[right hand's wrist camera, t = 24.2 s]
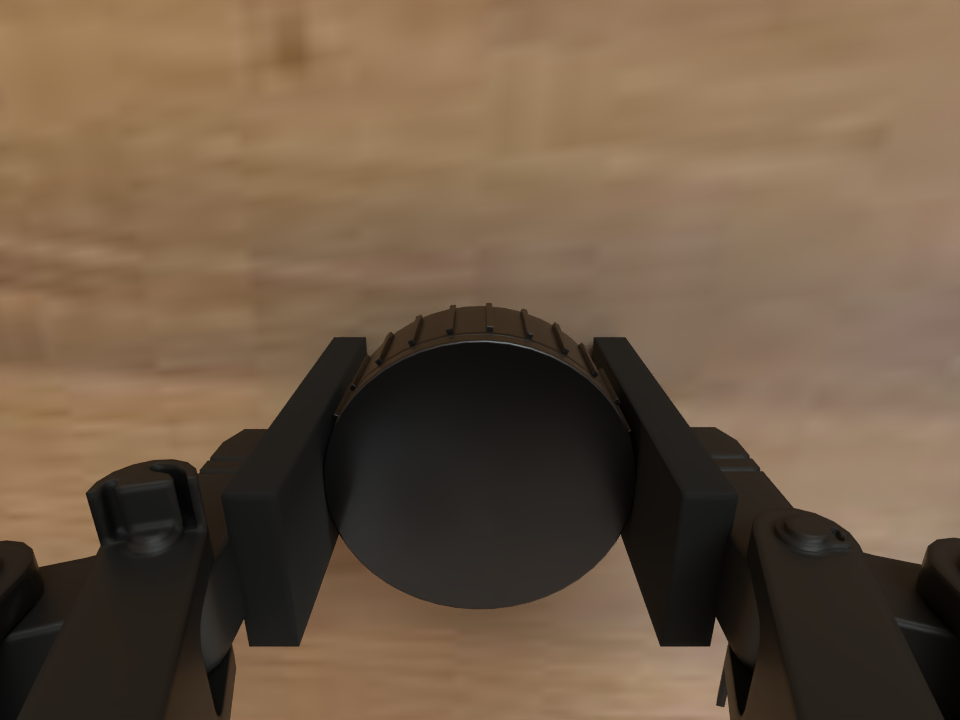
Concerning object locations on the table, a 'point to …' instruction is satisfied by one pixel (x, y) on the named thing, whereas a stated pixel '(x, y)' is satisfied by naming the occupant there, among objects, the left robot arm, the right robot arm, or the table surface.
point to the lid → (479, 460)
